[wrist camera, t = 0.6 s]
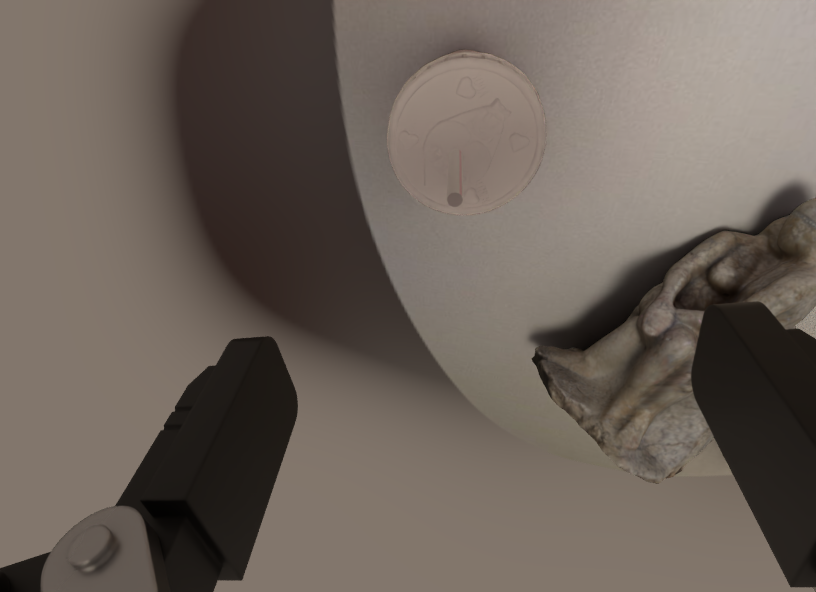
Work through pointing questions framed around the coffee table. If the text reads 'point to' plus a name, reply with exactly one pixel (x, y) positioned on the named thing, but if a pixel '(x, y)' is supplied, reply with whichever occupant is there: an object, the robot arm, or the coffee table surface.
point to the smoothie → (466, 133)
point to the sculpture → (678, 345)
